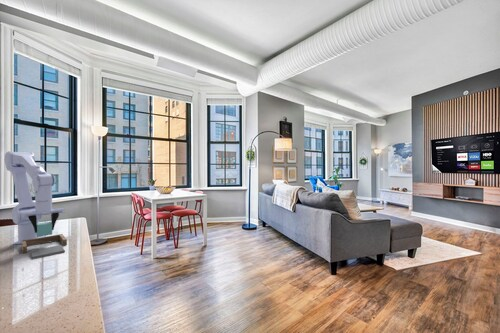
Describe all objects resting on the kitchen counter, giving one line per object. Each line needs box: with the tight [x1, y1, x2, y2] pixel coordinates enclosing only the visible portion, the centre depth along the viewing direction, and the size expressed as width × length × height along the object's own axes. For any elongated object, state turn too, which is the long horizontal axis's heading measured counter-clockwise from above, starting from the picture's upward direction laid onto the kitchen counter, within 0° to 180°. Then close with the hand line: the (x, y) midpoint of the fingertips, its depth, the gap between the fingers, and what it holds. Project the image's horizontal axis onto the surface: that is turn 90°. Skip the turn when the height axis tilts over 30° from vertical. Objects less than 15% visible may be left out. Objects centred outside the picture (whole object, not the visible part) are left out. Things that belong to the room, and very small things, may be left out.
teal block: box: [37, 221, 53, 237], centre depth 108 cm, size 5×5×5 cm
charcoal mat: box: [30, 244, 66, 260], centre depth 99 cm, size 10×10×1 cm
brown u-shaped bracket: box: [21, 233, 68, 254], centre depth 108 cm, size 13×14×2 cm
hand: (44, 231), depth 108 cm, fingers closed on teal block, 5 cm apart
